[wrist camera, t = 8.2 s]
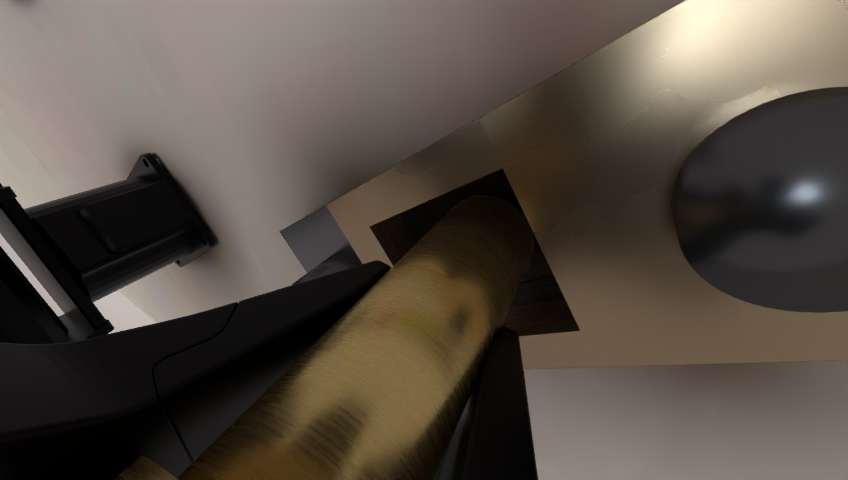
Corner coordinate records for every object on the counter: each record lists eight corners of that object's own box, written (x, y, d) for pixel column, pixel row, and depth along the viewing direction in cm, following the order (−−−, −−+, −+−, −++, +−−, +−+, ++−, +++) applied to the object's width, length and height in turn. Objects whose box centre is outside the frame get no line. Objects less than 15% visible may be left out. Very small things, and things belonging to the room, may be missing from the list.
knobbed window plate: (377, 331, 18) (326, 391, 15) (303, 217, 17) (230, 259, 14) (952, 249, 7) (1193, 413, 4) (894, -118, 5) (1217, -304, 2)
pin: (523, 308, 12) (323, 817, 4) (422, 258, 13) (118, 586, 5) (576, 211, 9) (333, 994, 2) (446, 160, 10) (-47, 500, 3)
